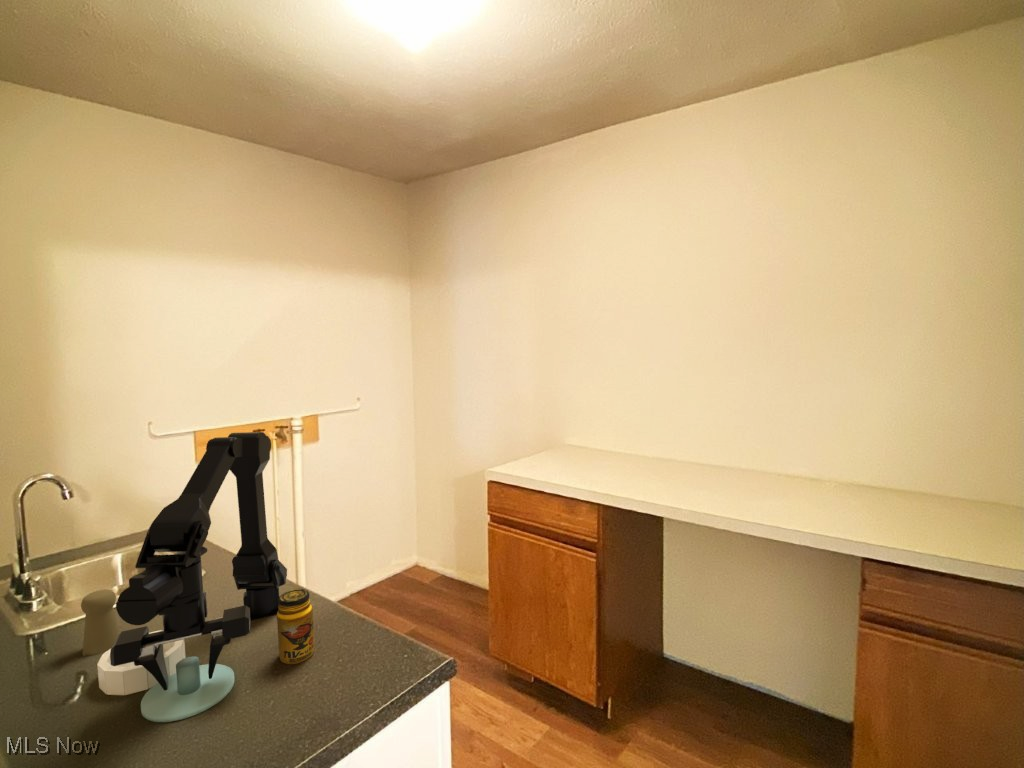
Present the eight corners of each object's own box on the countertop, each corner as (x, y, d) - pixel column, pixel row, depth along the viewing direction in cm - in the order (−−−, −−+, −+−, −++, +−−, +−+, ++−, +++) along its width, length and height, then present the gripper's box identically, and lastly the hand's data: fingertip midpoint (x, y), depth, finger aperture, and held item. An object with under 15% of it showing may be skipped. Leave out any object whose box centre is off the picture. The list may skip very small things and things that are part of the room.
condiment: (299, 672, 90) (295, 606, 89) (260, 663, 92) (256, 599, 92) (326, 648, 97) (323, 587, 96) (289, 641, 99) (286, 581, 98)
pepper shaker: (100, 659, 95) (95, 601, 94) (73, 655, 96) (68, 599, 95) (130, 640, 101) (126, 586, 100) (105, 637, 102) (100, 584, 101)
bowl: (188, 646, 98) (187, 624, 98) (179, 683, 87) (177, 658, 87) (111, 664, 93) (109, 641, 93) (91, 706, 82) (89, 679, 82)
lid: (236, 660, 93) (234, 632, 92) (232, 705, 81) (230, 673, 81) (150, 682, 87) (147, 652, 87) (132, 733, 75) (129, 699, 75)
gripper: (248, 561, 94) (253, 642, 95) (123, 583, 86) (131, 672, 87) (246, 586, 84) (252, 676, 85) (105, 614, 76) (113, 713, 77)
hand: (188, 683), depth 84 cm, fingers open, 6 cm apart
